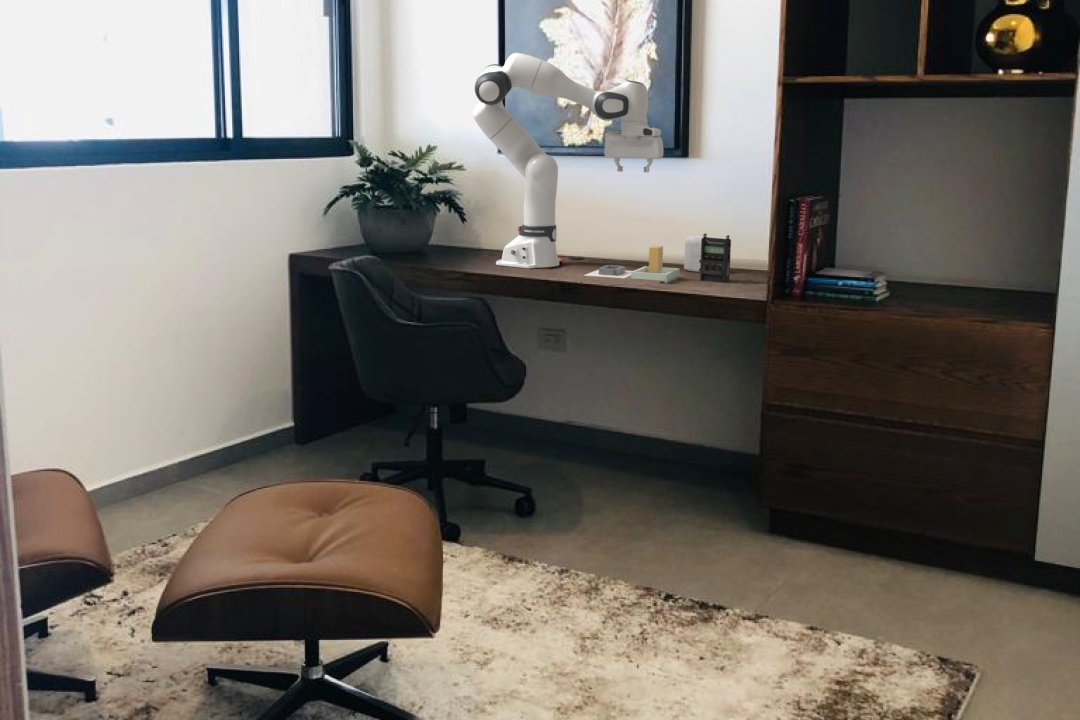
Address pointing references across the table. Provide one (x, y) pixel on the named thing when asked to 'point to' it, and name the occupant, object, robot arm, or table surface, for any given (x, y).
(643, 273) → the parts tray
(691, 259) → the photo printer
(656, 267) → the block
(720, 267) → the geiger counter
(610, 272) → the panel
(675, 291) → the table surface
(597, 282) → the table surface
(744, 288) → the table surface
